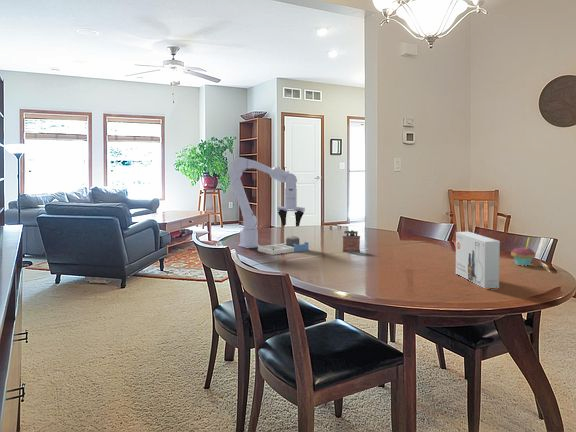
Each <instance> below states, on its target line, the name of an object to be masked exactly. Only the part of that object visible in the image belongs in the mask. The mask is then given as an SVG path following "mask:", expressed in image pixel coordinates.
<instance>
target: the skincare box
mask: <svg viewBox="0 0 576 432" xmlns="http://www.w3.org/2000/svg"><path fill="white" fill-rule="evenodd" d="M500 246H501V241H500V240H497V239H494V238H491V237H488V236H484V235H481V234H478V233H475V232H471V231H456V232H455V275H456V274H458V275H460V276H462V277H464V278H466V279H468V280H469V281H471V282H473V283H475V284H477V285H479V286H481V287H483V288H499V289H500ZM458 275H457V276H458ZM460 276H459V277H460ZM462 277H461V278H462ZM464 278H463V279H464ZM466 279H465V280H466ZM469 281H468V282H469ZM471 282H470V283H471ZM473 283H472V284H473ZM475 284H474V285H475ZM477 285H476V286H477ZM479 286H478V287H479ZM481 287H480V288H481Z"/></svg>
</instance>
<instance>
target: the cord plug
mask: <svg viewBox="0 0 576 432" xmlns="http://www.w3.org/2000/svg"><path fill="white" fill-rule="evenodd" d="M285 243H286V245H287V246H291V247H294V245H293V244H297V245H299V244H300V238H299V236H295V235H292V236H287V238H286V239H285Z"/></svg>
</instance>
